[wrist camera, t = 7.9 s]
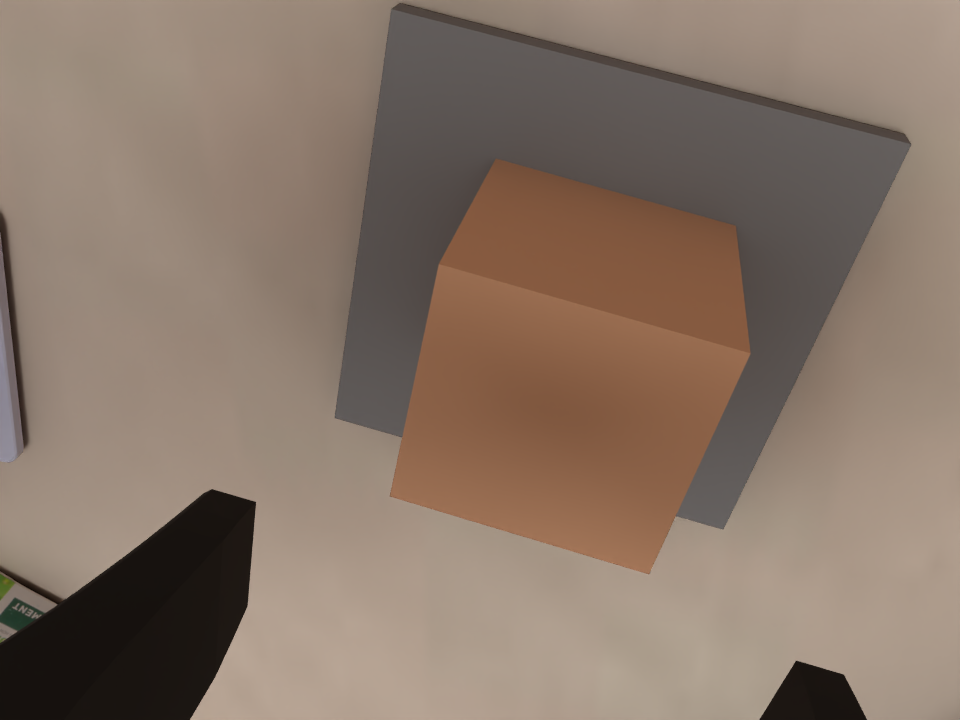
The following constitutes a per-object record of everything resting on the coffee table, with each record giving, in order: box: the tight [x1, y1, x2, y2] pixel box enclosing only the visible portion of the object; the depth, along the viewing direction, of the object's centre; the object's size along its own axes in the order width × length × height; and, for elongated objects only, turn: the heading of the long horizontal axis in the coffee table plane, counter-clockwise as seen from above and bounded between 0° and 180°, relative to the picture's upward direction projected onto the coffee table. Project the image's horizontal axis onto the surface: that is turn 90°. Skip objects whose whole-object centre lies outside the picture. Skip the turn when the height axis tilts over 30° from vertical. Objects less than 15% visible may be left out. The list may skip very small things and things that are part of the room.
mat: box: [335, 3, 911, 529], centre depth 20 cm, size 10×10×1 cm
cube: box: [390, 159, 751, 574], centre depth 17 cm, size 5×5×5 cm
